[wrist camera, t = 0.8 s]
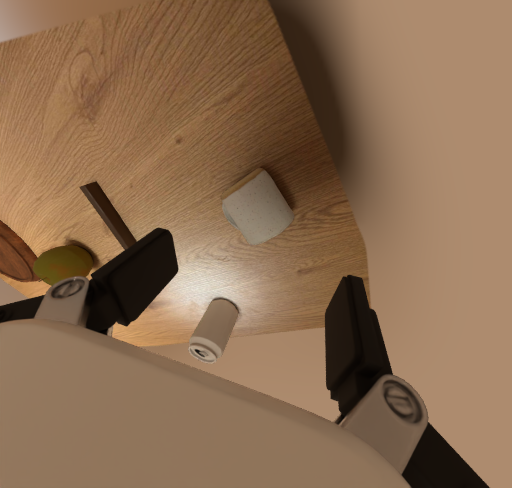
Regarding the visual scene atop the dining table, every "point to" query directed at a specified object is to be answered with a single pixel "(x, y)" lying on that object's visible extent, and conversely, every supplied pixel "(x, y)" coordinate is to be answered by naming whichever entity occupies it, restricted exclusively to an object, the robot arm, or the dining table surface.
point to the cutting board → (16, 256)
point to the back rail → (108, 214)
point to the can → (213, 331)
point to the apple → (62, 264)
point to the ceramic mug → (256, 207)
